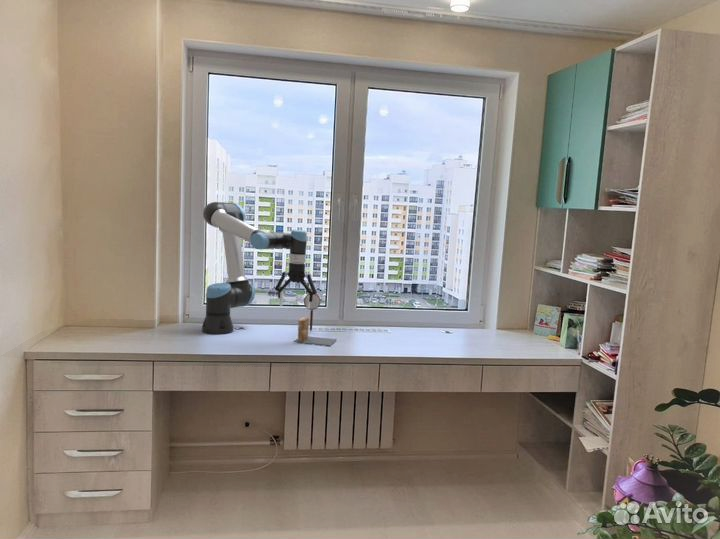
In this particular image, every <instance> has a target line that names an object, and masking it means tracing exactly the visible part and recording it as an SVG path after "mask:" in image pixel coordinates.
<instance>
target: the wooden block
mask: <svg viewBox="0 0 720 539" xmlns="http://www.w3.org/2000/svg"><path fill="white" fill-rule="evenodd" d="M297 323H298V326H297V328H298V329H297V339H298V341H303V342H304V341H305V340H306V339H308V336H309V329H310V317H301V318H299V319H298V322H297Z"/></svg>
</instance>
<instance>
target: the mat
mask: <svg viewBox="0 0 720 539" xmlns="http://www.w3.org/2000/svg"><path fill="white" fill-rule="evenodd" d="M336 340H338V339H337V338H328V337H320V336H309V335H308V339H306V340H305V341H304V342H303V341H298V338H296V339H295V340H293V343H294V342H297V343H296V344H302V343H306V344H305V345H312V344H315V345H314V346H321V345H325V346H324V347H331V345H332V344H333V343H334V342H335V341H336ZM336 342H337V341H336ZM336 342H335V343H336ZM335 343H334V344H335ZM334 344H333V345H334ZM333 345H332V346H333Z"/></svg>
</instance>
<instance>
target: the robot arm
mask: <svg viewBox="0 0 720 539" xmlns="http://www.w3.org/2000/svg"><path fill="white" fill-rule="evenodd" d="M202 217H203V219H204V221H205V222H206V224H208V225H210V226H211V227H214V228H217V229H218V231H220V232H221V233H222V239H223V246H224V253H225V254H224V255H225V263H226V270H227V280H226V281H225V282H215V283H212V284H210V285H208V286H207V287H206V292H205V300H206V301H205V317H204V321H203V323H202V326H201V331H202V332H203V333H205V334H210V335H225V334H230V333H232V332H234V324H233V321H232V317H231V309H236V308H241V307H242V308H243V307H245V306H248V305H250V304H252V302H253V301H254V299H255V296H256V290H255V287H254V286H253V285H252V284H251V283H250V280H249V279H248V278H247V276H246V273H245V264H244V256H243V249H242V240H244V241H246V242H248V243H250V245H251V246H252V248H253V249H255V250H260V251H261V250H270V249H272V250H273V249H274V250H275V249H284V250H285V249H286V250H289V264H288V265H289V266H288V272H286V271H282V273H281V276H280V278H279V279H278V282H277V284H276V286H275V287H274V290H275V291H277V299H279V306H280V307H282V306H284V291H283V290H284V289H285V288H286V287H287V286H288V285H289V284H290V283H297V284H299V283H300V284H301V285H302V286H303V288H304V289H305V290H306V292H307V293H308V294H309V295H308V294H307V295H308V300H307V308H306V309H308V310H310V309H309V308H310V302H312V301H313V295H314V294H318V291H317V289H316V287H315V284H314V281H313V278H312V274H311V273H309V274H307V273H306V264H305V263H306V259H307V258H306V257H307V256H306V255H307V243H308V236H307V235H308V233H307V231H306V230H301V229H292V230H291V231H290V233H289V232H282V231H274V232H266V231H264V230H261V229H260V228H257V227H255V226H254V225H251V224H249V223H247V222H245V220H246V213H245V210H244V207H242V206H241V205H240V204H239V203H236V202H235V203H234V202H222V201H221V202H220V201H214V202H212V201H211V202H210V203H208V204H207V205H206V206H205V207H204V208H203V211H202ZM241 239H242V240H241ZM286 277H288V279H287V280H286V279H285V278H286ZM305 278H306V279H307V281H308V284H307V282H306V280H305ZM284 280H286V281H285V282H284ZM283 282H284V284H283ZM282 284H283V285H282Z"/></svg>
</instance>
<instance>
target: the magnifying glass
mask: <svg viewBox="0 0 720 539" xmlns="http://www.w3.org/2000/svg"><path fill="white" fill-rule="evenodd" d="M308 295H309V293H308V294H306V296H304V298H303V305H304V307H305V308H306V309H307V300H308ZM321 303H322V302H321V298H320V296H319V294H318V293H316V294H314V295H313V301H312V302H310V308H309V309H308V310H310V314H309V315H310V316H309V331H310V332H312V331H313V320H314V319H313V317H314V310H317V309H318V308H319V307H320V306H321Z"/></svg>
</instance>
